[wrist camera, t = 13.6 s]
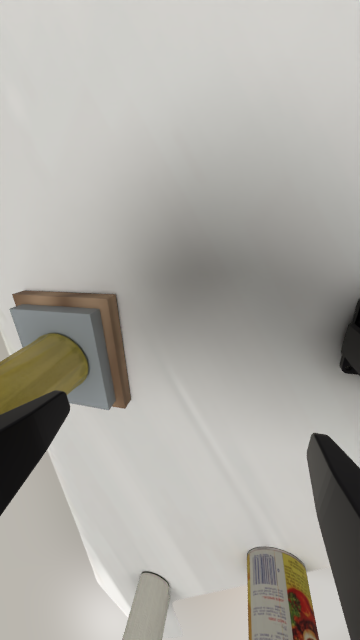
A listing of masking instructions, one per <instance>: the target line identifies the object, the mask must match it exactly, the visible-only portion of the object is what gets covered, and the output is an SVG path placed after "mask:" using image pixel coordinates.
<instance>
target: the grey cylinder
mask: <svg viewBox="0 0 360 640" xmlns="http://www.w3.org/2000/svg"><path fill="white" fill-rule="evenodd" d="M168 591H169V586H168V583H167V582H166V581H165V580H163V579H162V578H160V577H159V576H157V575H154V574H151V573H142V574H141V576H140V579H139V583H138V586H137V590H136V593H135V597H134V600H133V604H132V607H131V611H130V614H129V618H128V621H127V625H126V629H125V632H124V635H123V639H122V640H162V637H163V631H164V626H165V621H166V616H167V610H168V605H169V600H170V596H169V595H168Z"/></svg>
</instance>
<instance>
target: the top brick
mask: <svg viewBox="0 0 360 640" xmlns="http://www.w3.org/2000/svg"><path fill="white" fill-rule="evenodd" d="M10 312H11V315H12V318H13V321H14V323H15V326H16V329H17V332H18V335H19V338H20V341H21V344H22V347H23V348H24V347H25V346H27V345H29V344H30V343H32V342H33V341H35V340H36V339H38V338H39V337H40V336H42V335H45V334H50V333H55V334H60V335H63V336H65V337H67V338H69V339H70V340H72V341H73V342H74V343H76V344H77V345H78V346H79V348H80V349H81V350H82V352H83V353H84V355H85V357H86V359H87V363H88V375H87V377H86V379H85V380H84V382H83V383H82V384H80V385H79V386H77V387H76V388H75V389H74V390H72V391H71V392H70V393H69V394H68V395H67V397H68V401H69V403H72V404H77V405H83V406H89V407H94V408H100V409H105V410H109V409H110V408H111V407H112V405H113V404H114V402H115V401H116V398H115V392H114V387H113V381H112V376H111V370H110V365H109V359H108V353H107V348H106V342H105V337H104V331H103V325H102V320H101V314H100V309H95V308H79V307H62V306H46V305H30V304H22V305H19V306H16V307H13V308H11V309H10Z"/></svg>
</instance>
